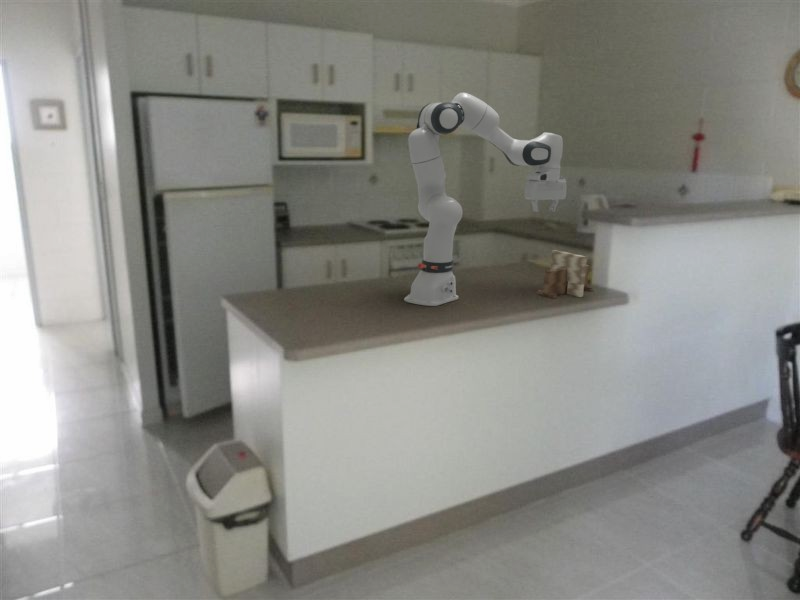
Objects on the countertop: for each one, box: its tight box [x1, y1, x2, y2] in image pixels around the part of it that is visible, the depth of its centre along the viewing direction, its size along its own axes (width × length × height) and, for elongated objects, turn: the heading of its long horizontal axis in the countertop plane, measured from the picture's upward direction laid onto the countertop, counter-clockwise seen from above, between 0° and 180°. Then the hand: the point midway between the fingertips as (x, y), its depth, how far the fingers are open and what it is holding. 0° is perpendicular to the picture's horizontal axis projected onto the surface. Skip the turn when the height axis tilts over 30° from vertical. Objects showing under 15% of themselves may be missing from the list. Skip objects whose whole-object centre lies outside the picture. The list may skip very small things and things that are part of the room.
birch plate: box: [549, 249, 588, 298], centre depth 239 cm, size 16×2×16 cm, turn 34°
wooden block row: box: [536, 264, 594, 300], centre depth 240 cm, size 24×8×10 cm, turn 124°
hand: (544, 211), depth 236 cm, fingers open, 8 cm apart
